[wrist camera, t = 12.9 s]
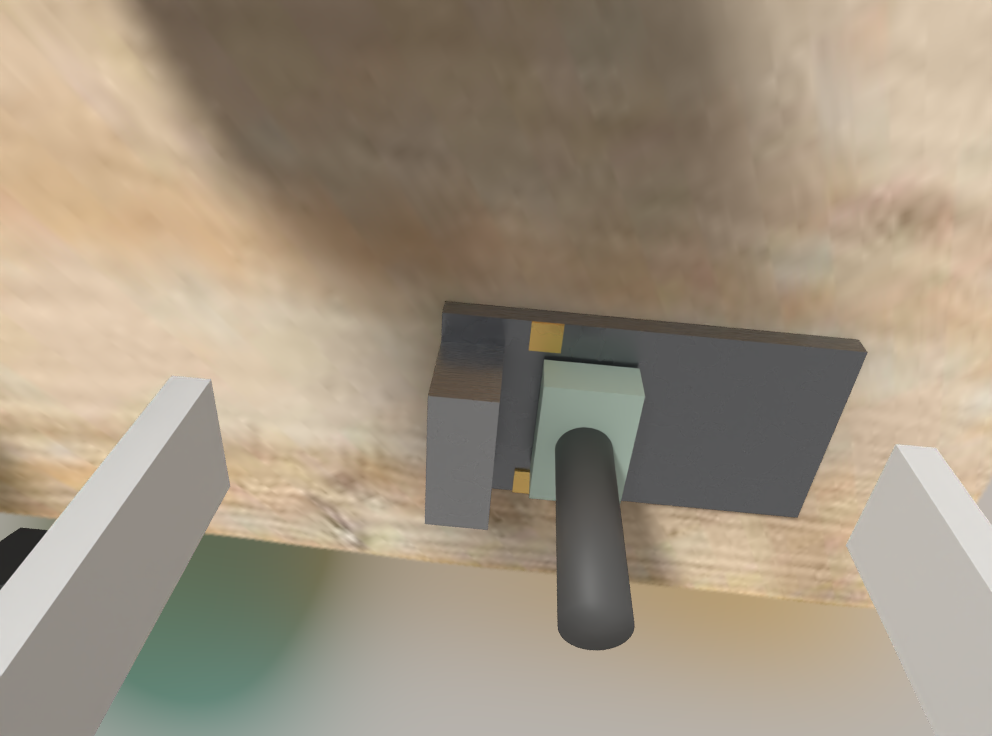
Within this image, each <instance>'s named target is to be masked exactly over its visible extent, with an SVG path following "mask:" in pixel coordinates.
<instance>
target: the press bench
mask: <svg viewBox="0 0 992 736" xmlns="http://www.w3.org/2000/svg"><path fill="white" fill-rule="evenodd" d="M866 355H867V351H866V350H865V348H864V347H863V345H862V344H861V343H860V341H859V340H856V339H845V338H834V337H823V336H813V335H802V334H791V333H781V332H770V331H759V330H748V329H738V328H727V327H716V326H705V325H695V324H684V323H673V322H662V321H652V320H641V319H630V318H619V317H609V316H598V315H587V314H576V313H566V312H555V311H544V310H533V309H523V308H512V307H501V306H491V305H480V304H469V303H458V302H448V301H445V305H444V309H443V312H442V339H441V344H440V349H439V353H438V357H437V361H436V365H435V369H434V373H433V378H432V382H431V386H430V390H429V394H428V418H427V458H426V498H425V524H431V525H442V526H452V527H462V528H473V529H483V530H488V521H489V510H490V500H491V489H492V488H494V489H505V490H512V492H516V493H526V494H529V482H530V464H531V456H532V448H533V441H534V433H535V425H536V418H537V410H538V402H539V395H540V387H541V380H542V372H543V364H544V360H554V361H564V362H575V363H586V364H596V365H607V366H618V367H628V368H639V369H640V373H641V378H642V383H643V388H644V393H645V399H644V403H643V408H642V412H641V416H640V421H639V425H638V429H637V434H636V438H635V442H634V447H633V451H632V455H631V459H630V464H629V468H628V472H627V477H626V481H625V485H624V490H623V494H622V498H621V501H630V502H640V503H651V504H661V505H672V506H682V507H693V508H703V509H714V510H724V511H734V512H745V513H755V514H766V515H776V516H787V517H798V515H799V512H800V510H801V508H802V505H803V503H804V500H805V498H806V496H807V493H808V491H809V489H810V486H811V484H812V482H813V479H814V477H815V475H816V472H817V470H818V468H819V465H820V463H821V461H822V458H823V456H824V453H825V451H826V449H827V446H828V444H829V442H830V439H831V437H832V435H833V432H834V430H835V428H836V425H837V423H838V421H839V418H840V416H841V414H842V411H843V409H844V407H845V404H846V402H847V399H848V397H849V395H850V392H851V390H852V388H853V385H854V383H855V381H856V378H857V376H858V374H859V371H860V369H861V367H862V364H863V362H864V360H865V357H866Z"/></svg>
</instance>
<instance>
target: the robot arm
mask: <svg viewBox="0 0 992 736" xmlns="http://www.w3.org/2000/svg"><path fill="white" fill-rule="evenodd" d="M229 487H230V483H229V477H228V471H227V466H226V460H225V455H224V449H223V443H222V438H221V432H220V427H219V421H218V415H217V410H216V404H215V399H214V393H213V388H212V382H211V379H201V378H191V377H180V376H171V377H170V378H169V379H168V381H167V382H166V383H165V384H164V386H163V387H162V388H161V389H160V391H159V392H158V393H157V395H156V396H155V397H154V398H153V400H152V401H151V402H150V403H149V405H148V406H147V407H146V408H145V410H144V411H143V412H142V413H141V415H140V416H139V417H138V418H137V420H136V421H135V422H134V423H133V425H132V426H131V427H130V428H129V430H128V431H127V432H126V433H125V435H124V436H123V437H122V438H121V440H120V441H119V442H118V443H117V445H116V446H115V447H114V448H113V450H112V451H111V452H110V453H109V455H108V456H107V457H106V458H105V460H104V461H103V462H102V463H101V465H100V466H99V467H98V468H97V470H96V471H95V472H94V473H93V475H92V476H91V477H90V478H89V480H88V481H87V482H86V483H85V485H84V486H83V487H82V488H81V490H80V491H79V492H78V494H77V495H76V496H75V497H74V499H73V500H72V501H71V502H70V504H69V505H68V506H67V507H66V509H65V510H64V511H63V512H62V514H61V515H60V516H59V517H58V519H57V520H56V521H55V522H54V524H53V525H52V526H51V527H50V529H49V530H39V529H29V528H20V529H18V530H16V531H15V532H13V533H12V534H10V535H9V536H7V537H6V538H5V539H3V540H2V541H1V542H0V736H94V735H95V733H96V731H97V729H98V727H99V725H100V724H101V722H102V720H103V718H104V716H105V715H106V713H107V711H108V709H109V707H110V705H111V703H112V702H113V700H114V698H115V696H116V694H117V693H118V691H119V689H120V687H121V685H122V683H123V682H124V680H125V678H126V676H127V674H128V672H129V670H130V669H131V667H132V665H133V663H134V661H135V659H136V658H137V656H138V654H139V652H140V650H141V649H142V647H143V645H144V643H145V641H146V639H147V637H148V636H149V634H150V632H151V630H152V628H153V626H154V625H155V623H156V621H157V619H158V617H159V615H160V614H161V612H162V610H163V608H164V606H165V604H166V603H167V601H168V599H169V597H170V595H171V593H172V592H173V590H174V588H175V586H176V584H177V582H178V581H179V579H180V577H181V575H182V573H183V571H184V570H185V568H186V566H187V564H188V562H189V560H190V559H191V557H192V555H193V553H194V551H195V549H196V547H197V546H198V544H199V542H200V540H201V538H202V537H203V535H204V533H205V531H206V529H207V527H208V526H209V524H210V522H211V520H212V518H213V516H214V515H215V513H216V511H217V509H218V507H219V505H220V504H221V502H222V500H223V498H224V496H225V494H226V493H227V491H228V489H229ZM846 546H847V548H848V551H849V553H850V555H851V557H852V559H853V561H854V563H855V566H856V568H857V570H858V572H859V574H860V576H861V578H862V580H863V583H864V585H865V587H866V589H867V591H868V593H869V595H870V598H871V600H872V602H873V604H874V606H875V608H876V610H877V612H878V615H879V617H880V619H881V621H882V623H883V625H884V628H885V630H886V632H887V633H888V636H889V638H890V640H891V642H892V645H893V647H894V649H895V651H896V653H897V655H898V657H899V660H900V662H901V664H902V666H903V668H904V670H905V672H906V675H907V677H908V679H909V681H910V683H911V685H912V687H913V689H914V692H915V694H916V696H917V698H918V700H919V702H920V704H921V706H922V709H923V711H924V713H925V715H926V717H927V719H928V722H929V724H930V726H931V728H932V730H933V732H934V734H935V736H992V525H991V524H990V522H989V521H988V520H987V518H986V517H985V515H984V514H983V513H982V511H981V510H980V508H979V507H978V506H977V504H976V503H975V501H974V500H973V499H972V497H971V496H970V494H969V493H968V492H967V490H966V489H965V488H964V486H963V485H962V483H961V482H960V481H959V479H958V478H957V476H956V475H955V474H954V472H953V471H952V469H951V468H950V467H949V465H948V464H947V462H946V461H945V460H944V458H943V457H942V455H941V454H940V453H939V451H938V450H937V449H936V448H931V447H921V446H910V445H899V444H896V445H895V447H894V449H893V451H892V453H891V455H890V457H889V459H888V461H887V463H886V465H885V467H884V469H883V471H882V473H881V475H880V477H879V479H878V481H877V483H876V485H875V487H874V489H873V491H872V493H871V495H870V497H869V499H868V501H867V503H866V506H865V508H864V510H863V512H862V514H861V516H860V518H859V520H858V522H857V524H856V526H855V528H854V530H853V532H852V534H851V536H850V538H849V540H848V542H847V544H846Z"/></svg>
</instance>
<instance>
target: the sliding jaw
mask: <svg viewBox="0 0 992 736" xmlns="http://www.w3.org/2000/svg"><path fill="white" fill-rule="evenodd" d="M644 399H645V393H644V388H643V383H642V378H641V373H640V369H639V368H628V367H618V366H607V365H596V364H586V363H575V362H564V361H554V360H544V364H543V372H542V380H541V387H540V395H539V402H538V410H537V418H536V425H535V433H534V441H533V448H532V456H531V464H530V482H529V498H532V499H543V500H553V501H556V551H557V613H558V614H557V615H558V631H559V633H560V635H561V636H562V638H563V639H564V640H565V641H567V642H568V643H570V644H571V645H574V646H576V647H578V648H582V649H587V650H606V649H610V648H614V647H616V646H619V645H621V644H623V643H624V642H626V641H627V640H628V639H629V638H630V637H631V635H632V633H633V631H634V617H633V609H632V601H631V593H630V584H629V576H628V568H627V560H626V552H625V543H624V535H623V527H622V519H621V511H620V503H621V498H622V494H623V490H624V485H625V481H626V477H627V472H628V468H629V464H630V459H631V455H632V451H633V447H634V442H635V438H636V434H637V429H638V425H639V421H640V416H641V412H642V408H643V403H644Z"/></svg>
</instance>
